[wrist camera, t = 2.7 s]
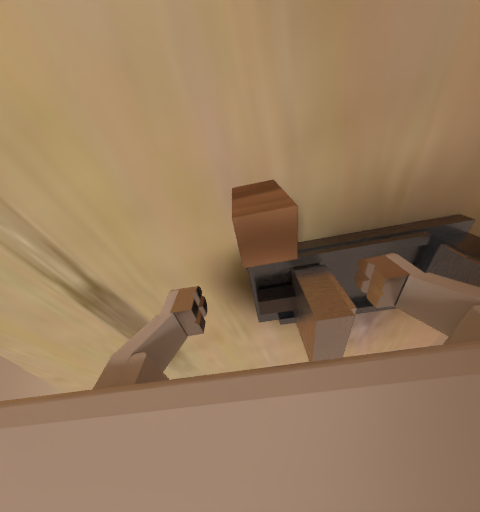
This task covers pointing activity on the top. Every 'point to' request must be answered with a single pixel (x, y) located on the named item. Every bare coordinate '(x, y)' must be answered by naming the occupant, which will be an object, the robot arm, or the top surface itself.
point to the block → (264, 223)
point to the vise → (376, 244)
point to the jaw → (314, 309)
